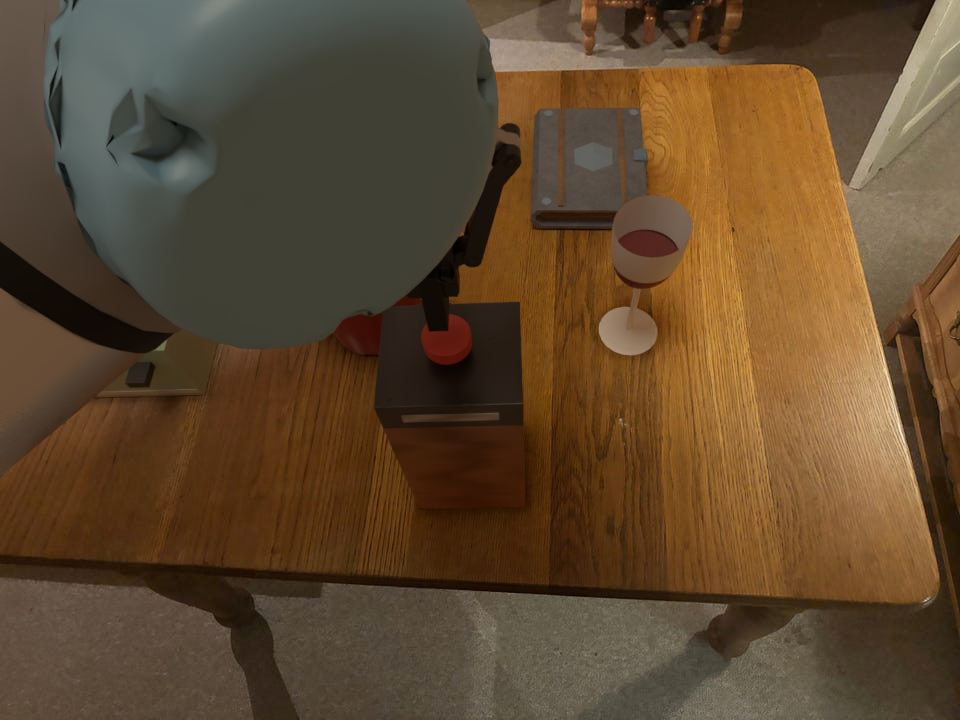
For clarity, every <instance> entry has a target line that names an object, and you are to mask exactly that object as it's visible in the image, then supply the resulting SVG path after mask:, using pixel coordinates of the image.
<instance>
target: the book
mask: <svg viewBox="0 0 960 720" xmlns="http://www.w3.org/2000/svg"><path fill="white" fill-rule="evenodd" d="M533 116H534V117H533V140H532V141H533V143H532V144H533V145H532V172H531V173H532V174H531V175H532V176H531V201H530V202H531V203H530V222H531V223H532V224H533V226H534V227H535V228H536V229H583V230H585V229H589V230H590V229H591V230H592V229H595V230H596V229H597V230H599V229H600V230H601V229H602V230H607V229H608V230H612V228H613V222H614V218H615V216H616V214H617V212H618V211H619V209H620V208H621V207H622V206H623V205H625V204H626V203H627V202H629V201H631V200H633V199H635V198H638V197H642V196H648V186H647V175H646V171H647V166H648V161H649V160H648V149H647V148H644V141H643V140H644V139H643V127H642V115H641V107H567V108H562V107H561V108H559V107H558V108H556V107H555V108H539V109H538V111H537V112H536V113H535V114H534V115H533Z"/></svg>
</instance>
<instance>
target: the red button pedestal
mask: <svg viewBox="0 0 960 720" xmlns="http://www.w3.org/2000/svg"><path fill="white" fill-rule="evenodd" d="M449 314H451V315H456V316H459V317H461V318H462V319H464V320H465V321H466V322H467V324H468V325H469V327H470V330H471V336H472V348H471V350H470V352H469V354H468V355H467V356H466V357H465V358H464V359H463V360H461V361H460V362H457V363H455V364H450V365H443V364H438V363H436V362H434V361H432V360H431V359H429V358H428V356H427V355H426V353H425V351H424V348H423V344H422V339H421V334H422V330H423V328H424V326H425V325H426V324H427V322H426V317H425V313H424V309H423V304H422V305H407V306H391V307H389V308H387V309H386V310H384V311H383V315H382V326H381V337H380V347H379V355H378V358H377V359H378V360H377V370H376V371H377V372H376V379H375V393H374V402H373V409H374V412H375V413H376V416H377V417H378V421H379V422H380V423H379V424H381V427H382V429H383V432H384V434H385V436H386V438H387V440H388V442H389V445H390V447H391V449H392V451H393V454H394V455H395V459H396V460H397V463H398V465H399V467H400V470H401V471H402V474H403V476H404V478H405V480H406V482H407V484H408V486H409V489H410V491H411V493H412V496H413V497H414V500H415V502H416V504H417V506H418V508H419V510H441V509H443V510H446V509H451V510H452V509H498V508H499V509H501V508H503V509H505V508H509V509H510V508H512V509H513V508H525V507H526V491H525V490H526V489H525V488H526V487H525V486H526V485H525V484H526V482H525V425H524V424H525V422H524V421H525V419H524V417H525V416H524V384H523V383H524V380H523V379H524V378H523V351H522V350H523V348H522V323H521V322H522V321H521V302H520V301H501V302H499V301H497V302H495V301H494V302H470V303H469V302H468V303H449Z"/></svg>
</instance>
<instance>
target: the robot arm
mask: <svg viewBox="0 0 960 720" xmlns="http://www.w3.org/2000/svg"><path fill="white" fill-rule="evenodd" d="M490 47H491V40H490V38H488V37H487V35H486V34H485V32H484V31H483V29H482V27H481V25H480V23H479V21H478V20H477V17H476V14H475V13H474V10H473V9H472V8H471V6H470V4H469V2H468V1H467V0H0V478H1V477H2V476H4V475H5V474H6V473H7V472H8V471H9V470H11V469H12V468H13V467H14V466H15V465H17V464H18V463H19V462H20V461H21V460H23V458H25V457H26V456H27V455H29V454H30V453H31V452H32V451H33V450H34V449H36V448H37V447H38V446H39V445H41V443H42V442H43V441H45V440H47V438H48V437H49V436H51V435H52V434H53V433H55V432H56V431H57V430H58V429H59V428H60V427H62V426H63V425H64V424H65V423H67V422H68V421H69V420H70V419H71V418H72V417H73V416H74V415H76V414H77V413H78V412H79V411H81V410H82V409H83V408H84V407H86V405H87V404H88V403H90V402H91V401H92V400H94V398H95V397H96V396H97V395H98V394H99V393H100V392H102V391H103V390H104V389H105V388H106V387H108V386H109V385H110V384H111V383H112V382H113V381H115V380H116V379H117V378H118V377H119V376H121V375H122V374H123V373H124V372H125V371H126V370H128V369H129V368H130V367H131V366H132V365H134V364H135V363H136V362H137V361H138V360H139V359H141V358H142V357H143V356H144V355H145V354H147V353H148V352H151V351H153V350H155V349H156V348H158V347H159V346H160V345H161V344H162V343H163V342H165V341H166V340H167V339H168V338H169V337H171V336H172V335H173V334H174V333H177V332H178V331H180V330H181V329H184V330H186V331H188V332H190V333H192V334H194V335H197V336H200V337H202V338H205V339H207V340H210V341H213V342H217V344H221V345H225V346H230V347H233V348H238V349H245V350H246V349H247V350H260V351H261V350H272V349H273V350H275V349H286V348H295V347H300V346H305V345H309V344H313V343H317V342H321V341H323V340H325V339H326V338H328V337H329V336H330V335H331V334H334V333H333V332H334V331H335V330H336V328H337V327H338V326H339V324H340V323H341V321H342V320H344V319H346V318H349V317H352V316H355V315H358V314H363V315H366V316H374V315H376V314H379V313H381V312H383V311H384V310H386V309H387V308H389V307H391V306H392V305H394V304H395V303H396V302H398V301H399V300H400V299H402V298H403V297H404V296H405V295H407V296H408V297H409V298H410V299H417V298H421V304H422V305H423V309H424V313H425V317H426V322H427V326H428V330H429V332H432V331H448V330H449V304H450V298H457V297H459V295H460V293H461V290H460V289H461V276H460V275H461V273H460V267H461V266H463V265H464V266H465V267H468V268H478V267H479V266H481V265H482V264H483V263H482V262H483V259H484V256H485V255H484V254H485V253H486V249H487V246H488V241H489V238H490V234H491V231H492V228H493V224H494V221H495V217H496V215H497V214H496V213H497V211H498V206H499V203H500V201H501V196H502V193H503V189H504V186H505V185H506V184H507V183H508V181H509V180H510V179H511V177H512V176H514V174H515V173H516V172H517V170H519V168H520V167H521V165H522V140H521V129H520V127H519V125H517V124H516V123H512V122H507V123H503V124H502V125H501V126H500V127H499V107H500V106H499V103H500V102H499V92H498V83H497V82H498V81H497V74H496V70H495V67H494V65H493V57H492V54H491V48H490ZM462 232H463V234H462ZM461 234H462V235H461Z"/></svg>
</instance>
